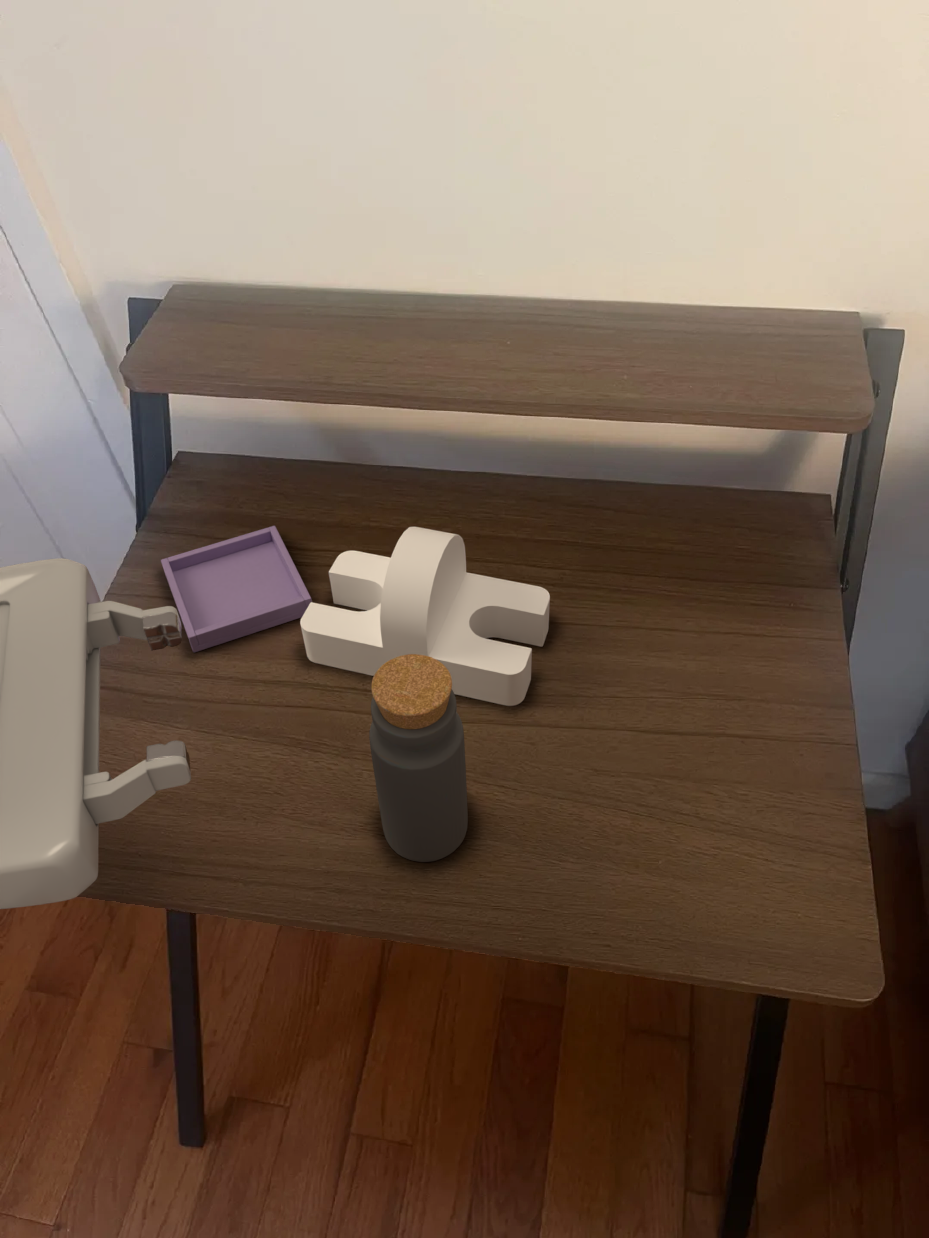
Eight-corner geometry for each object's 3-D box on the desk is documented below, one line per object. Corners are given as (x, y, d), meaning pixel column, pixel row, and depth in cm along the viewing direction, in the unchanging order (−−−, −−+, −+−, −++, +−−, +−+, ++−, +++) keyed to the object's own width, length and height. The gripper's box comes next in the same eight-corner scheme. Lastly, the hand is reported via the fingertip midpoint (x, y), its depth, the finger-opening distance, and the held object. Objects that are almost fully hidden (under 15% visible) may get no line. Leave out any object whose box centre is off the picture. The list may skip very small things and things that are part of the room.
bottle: (484, 813, 70) (480, 669, 59) (437, 878, 67) (424, 738, 56) (414, 777, 72) (399, 632, 62) (366, 837, 69) (340, 696, 58)
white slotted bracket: (520, 708, 77) (522, 614, 69) (301, 659, 81) (281, 565, 73) (551, 620, 83) (556, 525, 76) (347, 579, 87) (332, 485, 80)
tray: (193, 653, 81) (188, 637, 80) (165, 574, 88) (160, 559, 87) (314, 613, 84) (311, 598, 83) (278, 540, 91) (274, 525, 89)
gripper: (-164, 896, 41) (178, 823, 43) (-96, 563, 55) (162, 519, 57) (-98, 963, 46) (209, 895, 48) (-50, 641, 60) (187, 598, 62)
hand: (183, 688), depth 53 cm, fingers open, 8 cm apart
